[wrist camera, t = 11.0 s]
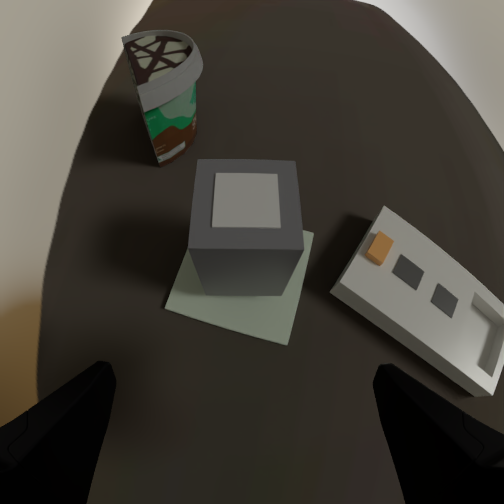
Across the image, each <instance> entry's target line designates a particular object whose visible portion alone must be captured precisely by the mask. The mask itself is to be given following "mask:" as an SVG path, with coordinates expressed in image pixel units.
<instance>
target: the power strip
mask: <svg viewBox="0 0 504 504" xmlns="http://www.w3.org/2000/svg"><path fill="white" fill-rule="evenodd" d="M330 293H331V294H333V295H334V296H335V297H337V298H338V299H340V300H341V301H342V302H344V303H345V304H347V305H348V306H350V307H351V308H352V309H354V310H355V311H357V312H358V313H359V314H361V315H362V316H364V317H365V318H366V319H368V320H369V321H371V322H372V323H373V324H375V325H376V326H378V327H379V328H381V329H382V330H383V331H385V332H386V333H388V334H389V335H390V336H392V337H393V338H394V339H396V340H397V341H399V342H400V343H401V344H403V345H404V346H406V347H407V348H408V349H410V350H411V351H413V352H414V353H415V354H417V355H418V356H420V357H421V358H422V359H424V360H425V361H426V362H428V363H429V364H431V365H432V366H433V367H435V368H436V369H437V370H439V371H440V372H442V373H443V374H444V375H446V376H447V377H448V378H450V379H451V380H453V381H454V382H455V383H457V384H458V385H459V386H461V387H462V388H464V389H465V390H466V391H468V392H469V393H470V394H472V395H473V396H474V397H477V396H492V395H493V393H494V391H495V388H496V385H497V382H498V379H499V377H500V374H501V371H502V367H503V364H504V304H503V303H502V302H500V301H499V300H498V299H497V298H496V297H495V296H494V295H493V294H492V293H491V292H490V291H489V290H488V289H487V288H486V287H485V286H484V285H483V284H481V283H480V282H479V281H478V280H477V279H476V278H475V277H474V276H473V275H472V274H470V273H469V272H468V271H467V270H466V269H465V268H464V267H462V266H461V265H460V264H459V263H458V262H457V261H455V260H454V259H453V258H452V257H451V256H449V255H448V254H447V253H446V252H445V251H443V250H442V249H441V248H440V247H438V246H437V245H436V244H435V243H433V242H432V241H431V240H430V239H428V238H427V237H426V236H425V235H423V234H422V233H421V232H419V231H418V230H417V229H415V228H414V227H413V226H411V225H410V224H409V223H407V222H406V221H405V220H403V219H402V218H401V217H399V216H398V215H397V214H395V213H394V212H392V211H391V210H390V209H388V208H387V207H385V206H383V208H382V209H381V211H380V212H379V213H378V215H377V216H376V217H375V219H374V220H373V221H372V223H371V225H370V227H369V228H368V230H367V232H366V234H365V235H364V237H363V239H362V240H361V242H360V244H359V245H358V247H357V249H356V250H355V252H354V254H353V255H352V257H351V259H350V260H349V262H348V264H347V265H346V267H345V268H344V270H343V272H342V273H341V275H340V276H339V278H338V280H337V281H336V283H335V284H334V286H333V287H332V289H331V290H330Z"/></svg>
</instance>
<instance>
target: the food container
mask: <svg viewBox="0 0 504 504" xmlns="http://www.w3.org/2000/svg"><path fill="white" fill-rule="evenodd" d="M122 42H123V46H124V50H125V54H126V58H127V62H128V65H129V69H130V73H131V77H132V81H133V84H134V88H135V92H136V95H137V99H138V102H139V106H140V109H141V112H142V116H143V119H144V122H145V125H146V128H147V131H148V134H149V137H150V140H151V143H152V145H153V148H154V151H155V154H156V157H157V160H158V163H159V165H160V167H163V166H165V165H167V164H169V163H172V162H173V161H174V160H176V159H177V158H179V157H180V156H181V155H183V154H184V153H185V152H186V151H187V150H188V149H189V147H190V146H191V145H192V144H193V142H194V139H195V136H196V134H197V128H196V80H197V79H198V77H199V76H200V74H201V72H202V69H203V62H202V58H201V55H200V52H199V50H198V47H197V46H196V44H195V43H194V42H193V40H192V38H190V37H189V36H188V35H186V34H184V33H181V32H177V31H171V30H153V31H145V32H139V33H135V34H131V35H127V36H125V37H122Z"/></svg>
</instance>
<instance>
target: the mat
mask: <svg viewBox="0 0 504 504" xmlns="http://www.w3.org/2000/svg"><path fill="white" fill-rule="evenodd" d="M313 235H314V233H311V232H308V231H304V230H303V239H304V252H303V254H302V256H301V258H300V260H299V262H298V264H297V266H296V268H295V270H294V272H293V274H292V276H291V278H290V280H289V282H288V284H287V286H286V288H285V290H284V292H283V294H282V296H209V295H205V292H204V290H203V287H202V284H201V282H200V279H199V277H198V274H197V271H196V269H195V266H194V264H193V261H192V258H191V256H190V253H189V250H188V249H187V251H186V254H185V256H184V259H183V261H182V264H181V267H180V269H179V272H178V274H177V277H176V280H175V282H174V285H173V287H172V290H171V293H170V295H169V298H168V301H167V304H166V306H165V309H167V310H169V311H172V312H175V313H178V314H181V315H184V316H187V317H190V318H193V319H196V320H199V321H202V322H206V323H209V324H212V325H215V326H218V327H222V328H225V329H228V330H232V331H235V332H238V333H242V334H245V335H249V336H252V337H256V338H260V339H263V340H267V341H271V342H274V343H278V344H282V345H286V346H287V345H288V341H289V337H290V333H291V329H292V325H293V322H294V318H295V314H296V309H297V305H298V301H299V297H300V293H301V289H302V284H303V280H304V276H305V271H306V267H307V263H308V258H309V253H310V249H311V244H312V240H313Z"/></svg>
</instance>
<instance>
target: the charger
mask: <svg viewBox="0 0 504 504" xmlns="http://www.w3.org/2000/svg"><path fill="white" fill-rule="evenodd" d="M188 250H189V253H190V256H191V258H192V261H193V264H194V266H195V269H196V271H197V274H198V277H199V279H200V282H201V284H202V287H203V290H204V292H205V295H209V296H282V294H283V292H284V290H285V288H286V286H287V284H288V282H289V280H290V278H291V276H292V274H293V272H294V270H295V268H296V266H297V264H298V262H299V260H300V258H301V256H302V254H303V252H304V239H303V228H302V218H301V208H300V198H299V189H298V180H297V171H296V163H295V161H282V160H253V159H198V162H197V170H196V177H195V185H194V194H193V202H192V211H191V221H190V231H189V241H188Z"/></svg>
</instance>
